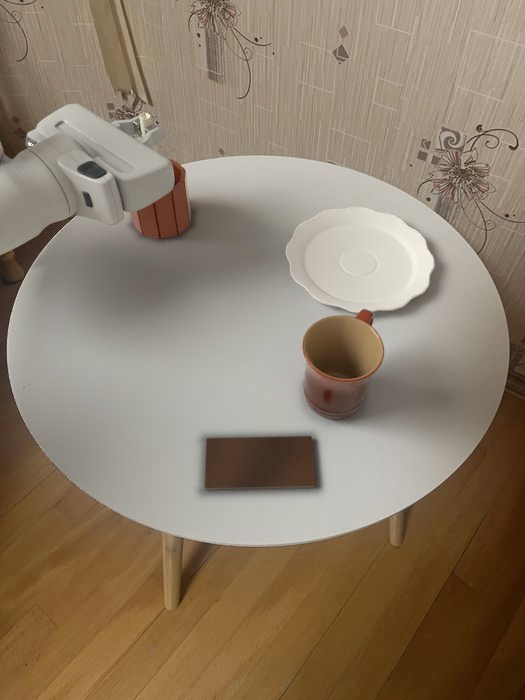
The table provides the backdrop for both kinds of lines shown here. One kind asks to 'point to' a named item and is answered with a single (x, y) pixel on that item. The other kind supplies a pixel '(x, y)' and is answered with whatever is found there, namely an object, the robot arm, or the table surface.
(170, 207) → the holder cup
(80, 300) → the table surface
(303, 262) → the plate
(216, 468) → the walnut mat
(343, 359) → the mug
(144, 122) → the candle
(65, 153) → the robot arm
